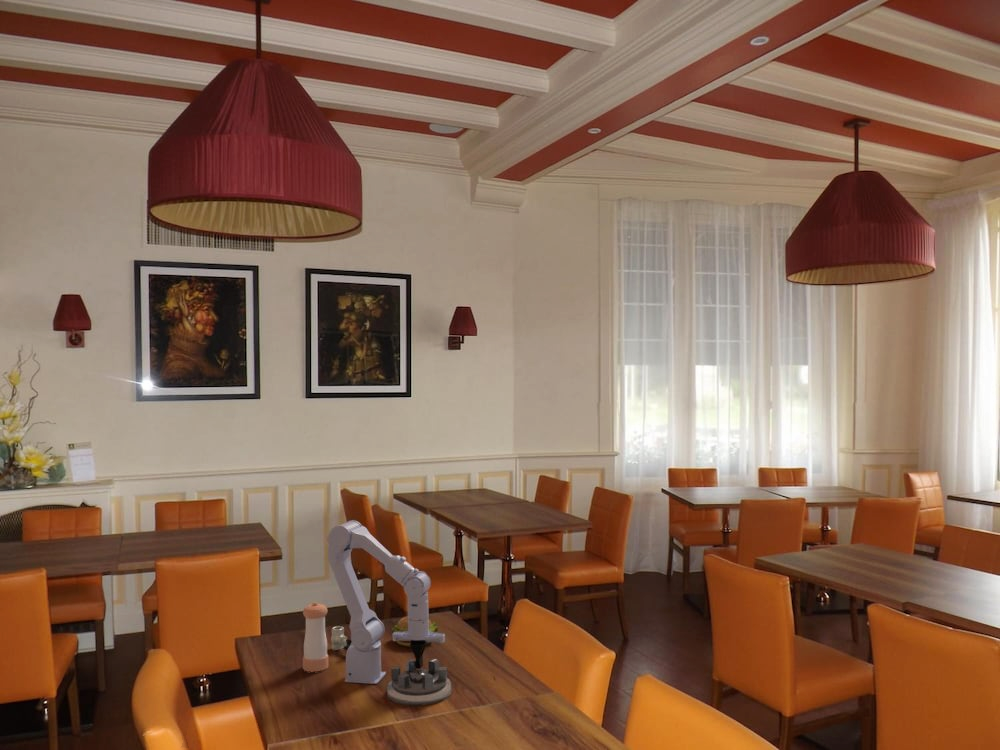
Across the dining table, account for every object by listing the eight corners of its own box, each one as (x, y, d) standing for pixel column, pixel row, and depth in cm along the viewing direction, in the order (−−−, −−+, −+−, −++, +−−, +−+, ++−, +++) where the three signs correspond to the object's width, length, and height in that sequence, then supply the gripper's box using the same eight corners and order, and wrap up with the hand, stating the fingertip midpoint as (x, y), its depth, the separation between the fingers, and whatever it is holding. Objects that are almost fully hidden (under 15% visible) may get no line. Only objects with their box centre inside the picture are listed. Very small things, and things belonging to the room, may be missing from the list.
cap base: (378, 703, 198) (378, 694, 198) (398, 678, 214) (398, 670, 214) (441, 707, 195) (441, 699, 195) (457, 682, 211) (457, 674, 211)
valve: (325, 650, 238) (345, 660, 229) (325, 628, 238) (345, 637, 229) (343, 645, 243) (364, 654, 234) (343, 624, 243) (364, 633, 234)
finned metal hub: (423, 699, 194) (423, 682, 194) (380, 686, 202) (380, 670, 202) (457, 680, 206) (457, 664, 207) (415, 669, 215) (415, 654, 215)
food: (400, 651, 236) (400, 625, 236) (388, 638, 249) (388, 613, 249) (442, 645, 241) (442, 620, 241) (428, 632, 254) (428, 608, 254)
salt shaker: (297, 670, 221) (297, 604, 221) (312, 662, 227) (312, 597, 228) (318, 674, 218) (318, 606, 218) (333, 665, 225) (333, 600, 225)
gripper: (447, 614, 213) (448, 663, 213) (397, 612, 216) (398, 661, 216) (440, 622, 206) (441, 672, 206) (389, 620, 209) (390, 670, 209)
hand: (419, 667), depth 211 cm, fingers closed, pressing on finned metal hub
